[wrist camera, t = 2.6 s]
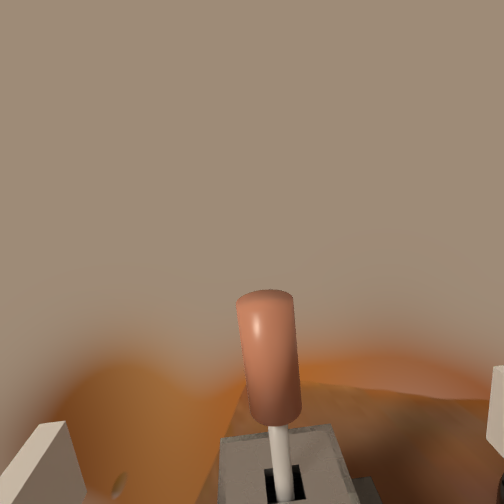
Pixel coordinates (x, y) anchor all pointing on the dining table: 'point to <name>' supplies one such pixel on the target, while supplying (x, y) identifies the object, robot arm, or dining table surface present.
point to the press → (303, 469)
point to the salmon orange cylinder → (272, 374)
